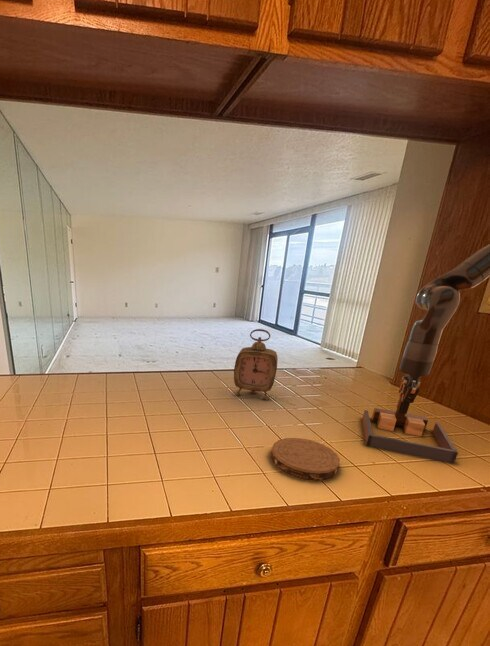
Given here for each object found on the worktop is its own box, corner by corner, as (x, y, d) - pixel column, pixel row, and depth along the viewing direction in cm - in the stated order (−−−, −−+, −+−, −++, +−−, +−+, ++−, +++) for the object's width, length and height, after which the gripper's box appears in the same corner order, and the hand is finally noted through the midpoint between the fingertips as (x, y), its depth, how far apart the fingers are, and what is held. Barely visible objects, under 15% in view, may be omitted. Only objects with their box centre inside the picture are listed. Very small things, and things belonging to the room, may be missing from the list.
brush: (372, 421, 110) (380, 393, 107) (371, 417, 113) (379, 390, 109) (424, 430, 105) (434, 402, 101) (422, 426, 107) (432, 398, 104)
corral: (361, 419, 112) (364, 410, 111) (435, 433, 105) (439, 422, 103) (365, 446, 96) (369, 435, 95) (453, 464, 89) (458, 452, 87)
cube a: (376, 423, 110) (380, 412, 108) (391, 426, 108) (394, 414, 107) (378, 428, 107) (381, 417, 105) (393, 431, 105) (396, 419, 103)
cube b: (403, 428, 107) (407, 416, 106) (418, 431, 106) (422, 419, 104) (405, 433, 104) (409, 422, 102) (421, 436, 102) (425, 424, 101)
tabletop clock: (231, 396, 129) (238, 329, 119) (235, 388, 137) (242, 325, 127) (271, 402, 124) (281, 333, 115) (273, 394, 132) (283, 328, 122)
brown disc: (307, 443, 97) (309, 434, 96) (352, 475, 83) (355, 464, 82) (258, 452, 92) (260, 442, 91) (297, 487, 78) (299, 476, 77)
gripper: (439, 365, 93) (419, 422, 100) (428, 353, 105) (411, 405, 111) (407, 361, 96) (389, 417, 103) (400, 350, 108) (385, 401, 114)
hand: (401, 410), depth 107 cm, fingers closed on brush, 2 cm apart
